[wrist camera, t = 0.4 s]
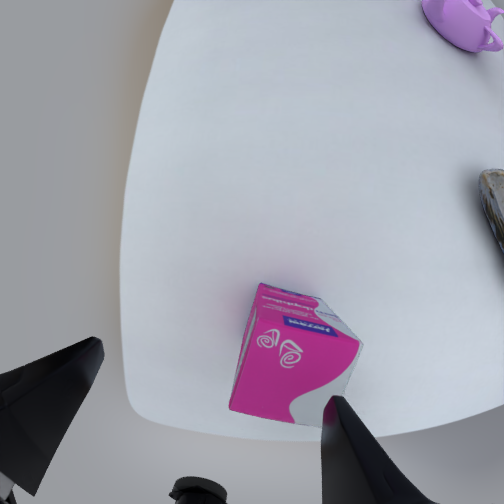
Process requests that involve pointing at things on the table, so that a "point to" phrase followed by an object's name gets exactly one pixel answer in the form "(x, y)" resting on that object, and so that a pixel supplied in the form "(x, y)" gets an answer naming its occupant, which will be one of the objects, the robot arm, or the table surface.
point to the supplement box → (292, 358)
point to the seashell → (493, 200)
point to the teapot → (464, 23)
